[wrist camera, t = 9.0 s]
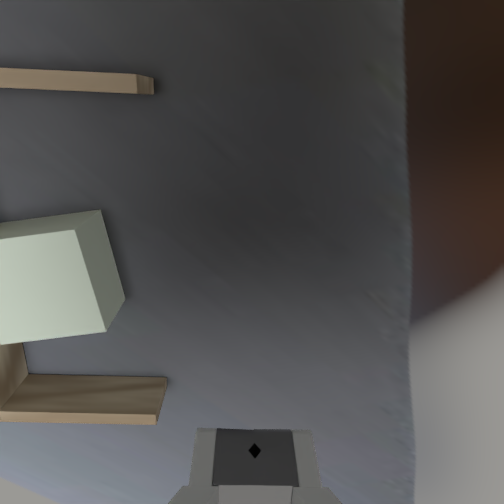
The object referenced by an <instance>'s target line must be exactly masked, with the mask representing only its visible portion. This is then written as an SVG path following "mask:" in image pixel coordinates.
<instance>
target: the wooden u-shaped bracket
mask: <svg viewBox="0 0 504 504" xmlns="http://www.w3.org/2000/svg"><path fill="white" fill-rule="evenodd" d="M0 88H22V89H44V90H66V91H88V92H110V93H132V94H154V83H153V78H151V77H146V76H142V75H138V74H123V73H102V72H80V71H59V70H37V69H16V68H0ZM166 388H167V379H166V377H128V376H86V375H44V374H28V369H27V364H26V359H25V354H24V349H23V344H22V342H19V343H11V344H3V345H1V344H0V422H45V423H94V424H143V425H157V421H158V417H159V414H160V410H161V406H162V403H163V399H164V395H165V392H166Z"/></svg>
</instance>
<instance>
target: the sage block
mask: <svg viewBox="0 0 504 504" xmlns="http://www.w3.org/2000/svg"><path fill="white" fill-rule="evenodd" d="M124 301H125V296H124V292H123V288H122V285H121V281H120V278H119V274H118V271H117V267H116V263H115V260H114V256H113V253H112V249H111V245H110V242H109V238H108V235H107V231H106V228H105V224H104V220H103V217H102V213H101V210H93V211H85V212H78V213H70V214H63V215H55V216H48V217H40V218H33V219H25V220H18V221H10V222H3V223H0V344H1V345H3V344H11V343H19V342H27V341H35V340H44V339H52V338H60V337H68V336H76V335H84V334H92V333H100V332H106V331H107V330H108V328H109V326H110V324H111V323H112V321H113V319H114V318H115V316H116V314H117V313H118V311H119V309H120V308H121V306H122V304H123V303H124Z"/></svg>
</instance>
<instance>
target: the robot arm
mask: <svg viewBox="0 0 504 504" xmlns="http://www.w3.org/2000/svg"><path fill="white" fill-rule="evenodd" d="M168 504H342V503H341V502H340V500H339V499H338V498H337V497H336V496H335V495H334V494H333V492H332V491H331V490H330V489H329V488H327V487H322V483H321V478H320V473H319V467H318V462H317V457H316V452H315V447H314V442H313V437H312V433H311V431H310V430H290V429H254V430H245V429H221V428H217V429H214V428H197V431H196V436H195V443H194V450H193V458H192V465H191V472H190V479H189V486H182V487H181V489H180V490H179V491H178V492H177V493H176V495H175V496H174V497H173V498H172V499H171V501H170V502H169V503H168Z"/></svg>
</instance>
